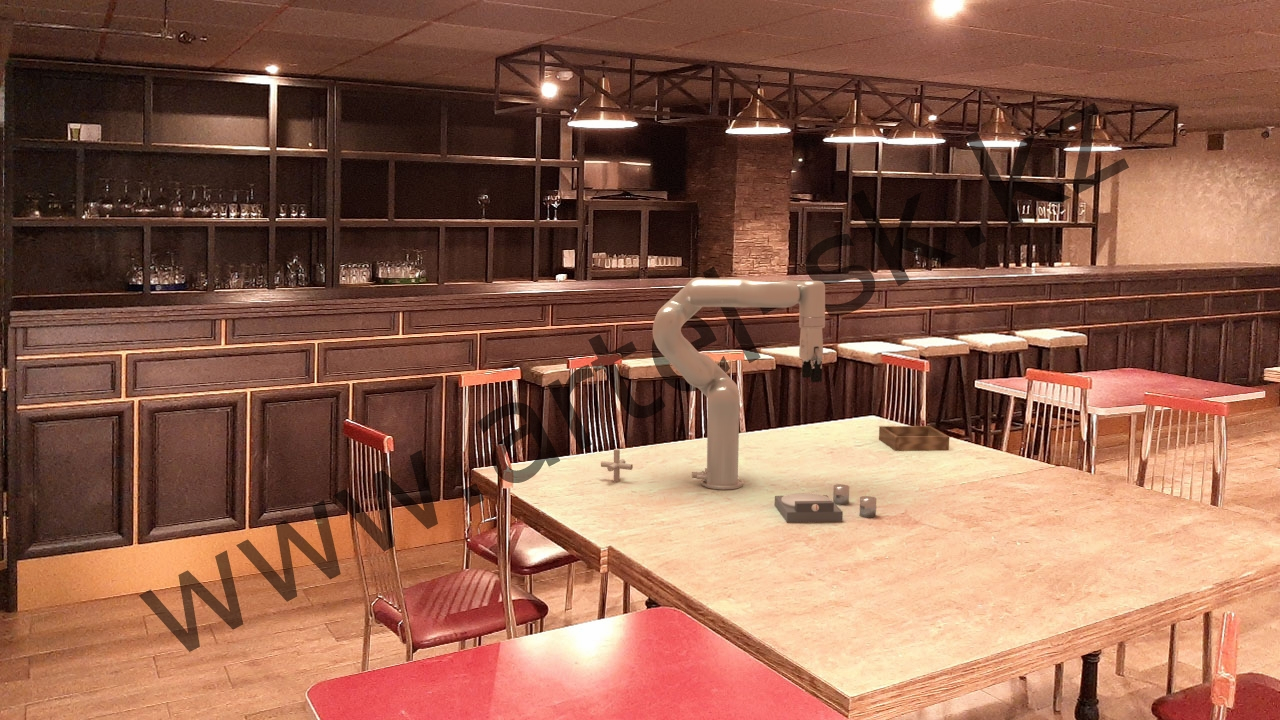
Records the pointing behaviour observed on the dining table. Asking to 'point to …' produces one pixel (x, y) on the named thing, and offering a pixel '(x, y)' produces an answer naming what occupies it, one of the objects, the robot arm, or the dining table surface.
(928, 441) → the brown wooden tray
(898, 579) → the dining table surface
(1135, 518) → the dining table surface
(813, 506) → the scale
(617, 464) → the pipe connector
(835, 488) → the cylinder
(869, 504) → the cylinder
